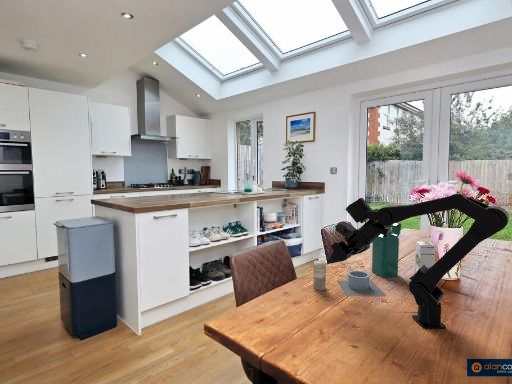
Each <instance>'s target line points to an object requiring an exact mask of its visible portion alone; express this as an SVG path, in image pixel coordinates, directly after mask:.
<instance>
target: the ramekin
mask: <svg viewBox="0 0 512 384" xmlns="http://www.w3.org/2000/svg"><path fill="white" fill-rule="evenodd" d="M346 281H347V285H348V286H349V287H350V288H353V289H357V290H366V289H369V287H370V281H371V275H370V273H368V272H366V271H363V270H350V271H347V278H346Z"/></svg>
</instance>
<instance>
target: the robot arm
mask: <svg viewBox="0 0 512 384" xmlns="http://www.w3.org/2000/svg"><path fill="white" fill-rule="evenodd" d="M450 210H451V211H452V210H457V211H459V212H461V213H462V214H464V215H466V217H469V218H470V219H472V220H474V221H473V222H472V224H471V226H470V227H469V229H468V230H467V232H465V234H464V235H463V236H462V237H461V238H460V239H458V241H457V242H455V244H453V246H452V247H450V248H449V249H448V250H447V251H446V252H445V253H444V254H443V255H442V256H441V257H440V258H439V259H438V260H437V261H435V264H434V265H433V266H431V267H429V268H427V267H426V266H425V265H423V266H422V267H421V268H420V269H419V270H418V271H417V272H416V273H414V274H412V275H411V276H410V277H409V280H410V281H409V283H408V290H409V291H410V293H411V294H412V295H413V298H414V301H415V303H416V305H417V311H416V312H417V315H416V314H412V315H411V316H412V319H413V320H415V321H416V322H417V324H419V325H420V327H422V328H423V329H447V326H446V325H445V323H443V322H442V321H441V320H442V304H441V301H442V300H443V298H444V296H445V293H444V291H443V290H441V288H440V287H439V286H438V285H439V283H440V282H441V280H442V279H443V277H444V276H446V274H448V273H449V272H450V271H451V270H452V269H453V268H454V267H455V266H456V265H457V264H458V263H459V262H460V261H462V260H463V259H464V258H465V257H466V256H468V254H469V253H470V252H472V250H474V249H475V248H476V247H477V246H478V245H479V244H480V243H482V242H483V241H485V240H487V239H489V238H491V237H493V236H494V235H495V234H497V233H500V231H503V230H504V229H505V228H506V227H507V225H508V223H509V220H510V214H509V213H508V210H506V209H505V208H504V207H501V206H498V205H488V204H487V203H484V202H482V201H479V200H477V199H474V198H472V197H469V196H467V195H466V194H464V193H462V192H461V193H460V192H458V193H454V194H452V195H448V196H444V197H439V198H435V199H430V200H426V201H422V202H417V203H413V204H398V205H397V204H393V205H388V206H384V207H381V208H375V209H372V208H371V206H370V205H369V204H368V203H367V202H366V200H365V199H364V197H359V198H358V199H357V200H355V201H353V202H352V203H350V204H348V206H346V207H345V210H344V211H346V212H347V213H348V215H349V216H350V217H351V218H352V219H353V221H354V222H355V223H356V224H359V223H360V224H362V225H361V226H360V227H359V228H356V227H355V226H353V225H352V224H350V223H348V222H347V221H344V220H342V221H339V222H338V223H337V224H336V225H335V226H334V227H335V229H334V230H335V232H336V233H338V234H339V235H341V236H343V237H344V238H343V240H337V241H334V242H333V243H332V244H331V245H330V248H331V250H332V253H331V255H330V256H329V258H328V260H327V263H328V264H329V265H330V264H331V265H332V264H335V263H342V262H345V261H347V260H348V259H350V258H351V257H352V256H355V255H359V254H361V253H364V252H366V251H367V250H369V249H370V248H371V244H372V243H373V240H375V239H376V238H377V237H378V236H380V235H381V234H382V235H383V236H384V237H385V238H386V237H388V236H390V228H387V227H385V226H390V225H393V224H395V223H400V222H403V221H405V220H408V219H410V218H414V217H416V218H417V217H420V216H425V215H430V214H434V213H440V212H441V213H442V212H445V211H450ZM344 240H345V242H346V243H345V242H344Z"/></svg>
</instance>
